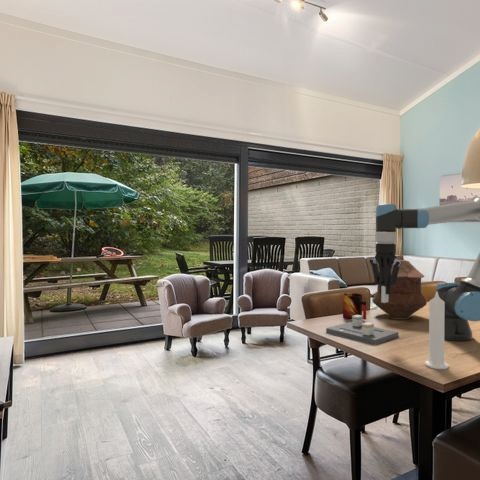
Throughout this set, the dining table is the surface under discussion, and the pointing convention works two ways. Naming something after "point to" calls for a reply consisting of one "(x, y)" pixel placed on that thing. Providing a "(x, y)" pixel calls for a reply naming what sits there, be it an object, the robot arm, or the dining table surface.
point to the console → (356, 333)
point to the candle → (436, 333)
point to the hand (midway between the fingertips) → (384, 302)
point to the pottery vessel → (403, 293)
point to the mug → (353, 305)
